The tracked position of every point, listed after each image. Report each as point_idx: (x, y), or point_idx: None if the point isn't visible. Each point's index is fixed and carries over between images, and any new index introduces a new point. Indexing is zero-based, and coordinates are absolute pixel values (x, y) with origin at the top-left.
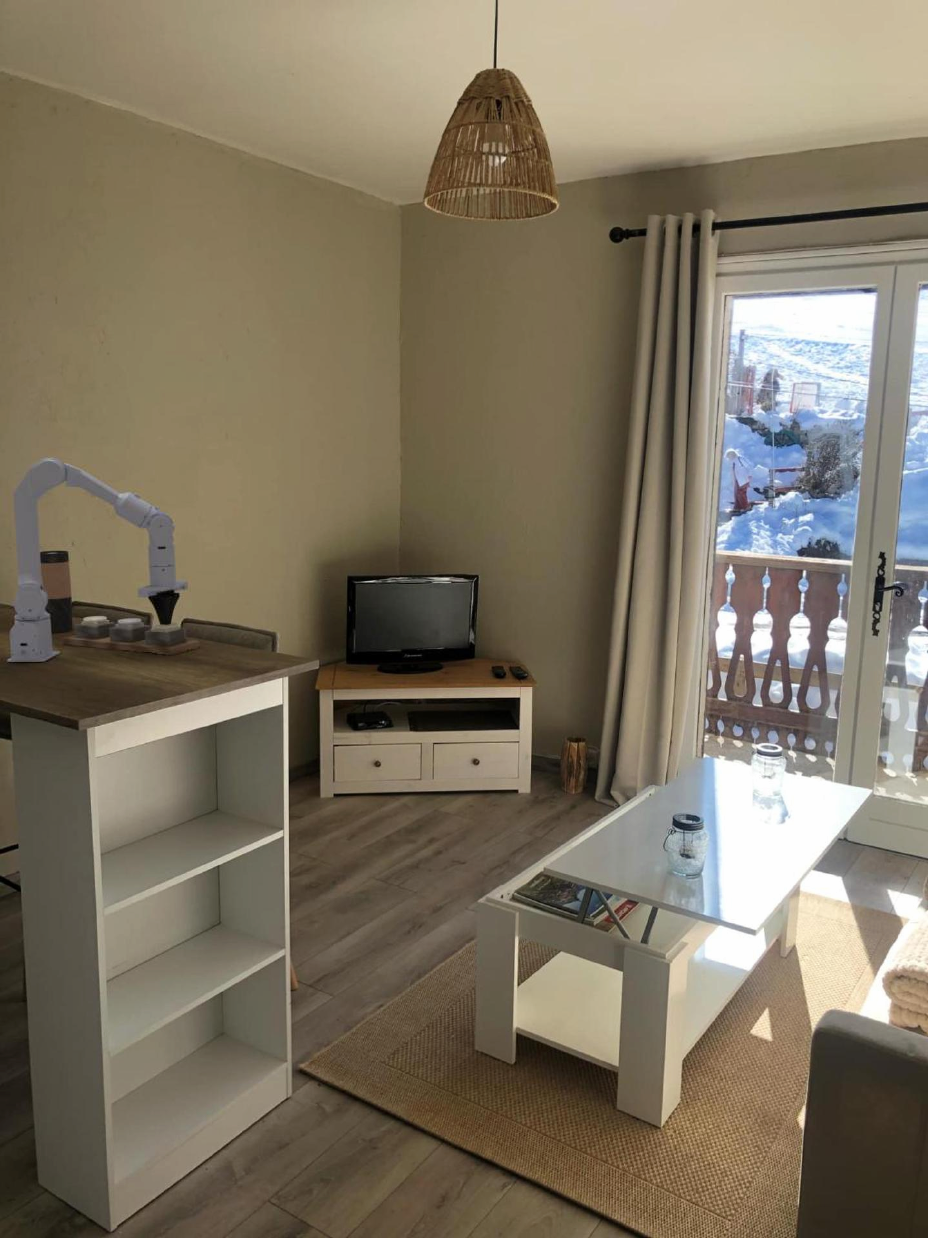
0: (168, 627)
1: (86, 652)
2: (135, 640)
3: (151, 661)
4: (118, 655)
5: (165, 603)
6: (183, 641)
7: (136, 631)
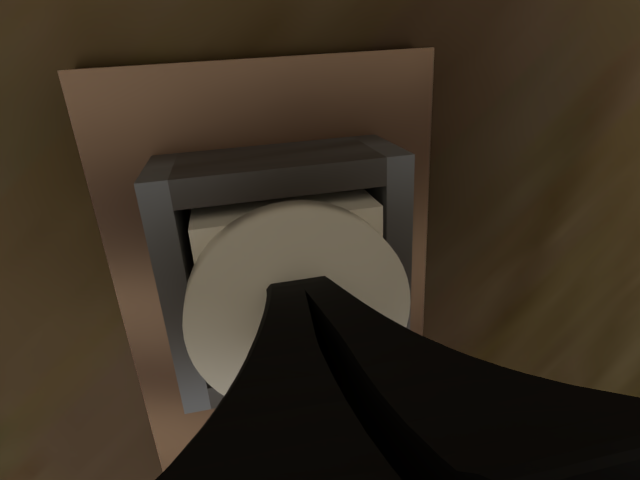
0: (357, 218)
1: None
2: None
3: (600, 24)
4: (508, 317)
5: (547, 379)
6: (191, 152)
7: None
